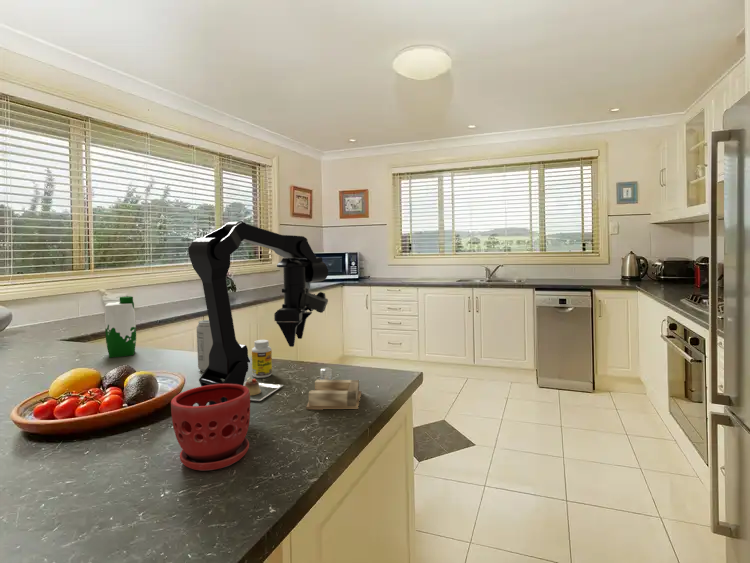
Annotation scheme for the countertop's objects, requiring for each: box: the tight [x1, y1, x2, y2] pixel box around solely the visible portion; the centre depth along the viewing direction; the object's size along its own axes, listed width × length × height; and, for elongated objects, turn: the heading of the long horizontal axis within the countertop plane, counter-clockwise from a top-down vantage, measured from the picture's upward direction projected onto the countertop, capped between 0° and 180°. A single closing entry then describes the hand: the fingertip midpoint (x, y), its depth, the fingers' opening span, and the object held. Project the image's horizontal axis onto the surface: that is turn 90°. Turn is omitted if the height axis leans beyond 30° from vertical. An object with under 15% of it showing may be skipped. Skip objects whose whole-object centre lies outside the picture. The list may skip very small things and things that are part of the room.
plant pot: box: [170, 384, 251, 471], centre depth 77 cm, size 13×13×12 cm
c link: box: [308, 379, 360, 406], centre depth 105 cm, size 11×10×3 cm
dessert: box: [243, 376, 284, 402], centre depth 111 cm, size 12×12×5 cm
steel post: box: [320, 366, 333, 380], centre depth 116 cm, size 3×3×4 cm
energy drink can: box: [196, 319, 213, 373], centre depth 130 cm, size 6×6×15 cm
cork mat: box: [305, 390, 362, 410], centre depth 105 cm, size 11×12×1 cm
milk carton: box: [104, 295, 137, 359], centre depth 149 cm, size 9×9×20 cm
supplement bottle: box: [251, 339, 273, 379], centre depth 125 cm, size 6×6×10 cm
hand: (296, 342), depth 114 cm, fingers open, 9 cm apart
